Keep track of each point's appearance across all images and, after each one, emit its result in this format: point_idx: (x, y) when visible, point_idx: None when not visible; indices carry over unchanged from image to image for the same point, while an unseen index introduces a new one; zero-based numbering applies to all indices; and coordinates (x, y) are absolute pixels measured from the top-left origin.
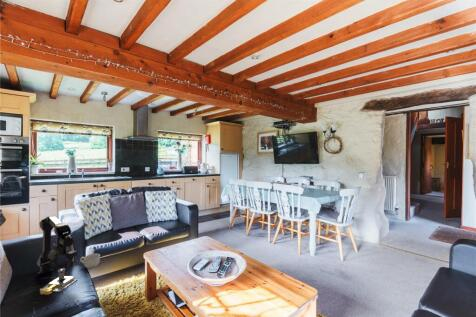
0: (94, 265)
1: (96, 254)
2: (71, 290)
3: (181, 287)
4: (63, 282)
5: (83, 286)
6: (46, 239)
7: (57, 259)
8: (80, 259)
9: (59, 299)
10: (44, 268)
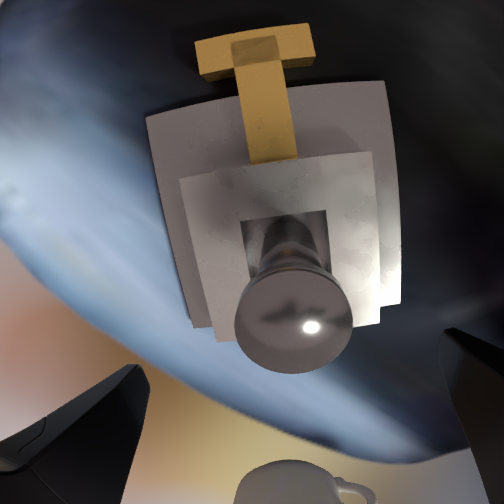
0: (242, 480)
1: None
2: (80, 178)
3: None
4: (208, 217)
5: (57, 256)
6: None
7: (481, 469)
8: (370, 502)
9: (59, 57)
10: None
